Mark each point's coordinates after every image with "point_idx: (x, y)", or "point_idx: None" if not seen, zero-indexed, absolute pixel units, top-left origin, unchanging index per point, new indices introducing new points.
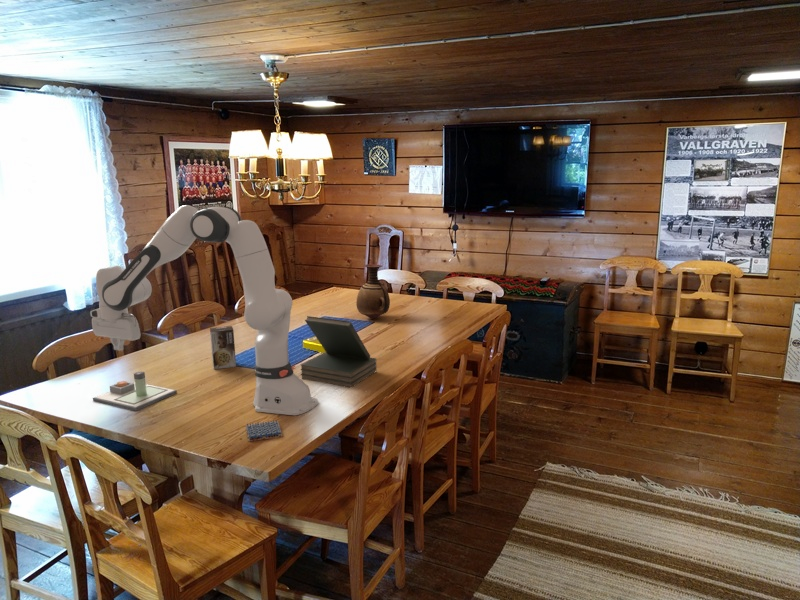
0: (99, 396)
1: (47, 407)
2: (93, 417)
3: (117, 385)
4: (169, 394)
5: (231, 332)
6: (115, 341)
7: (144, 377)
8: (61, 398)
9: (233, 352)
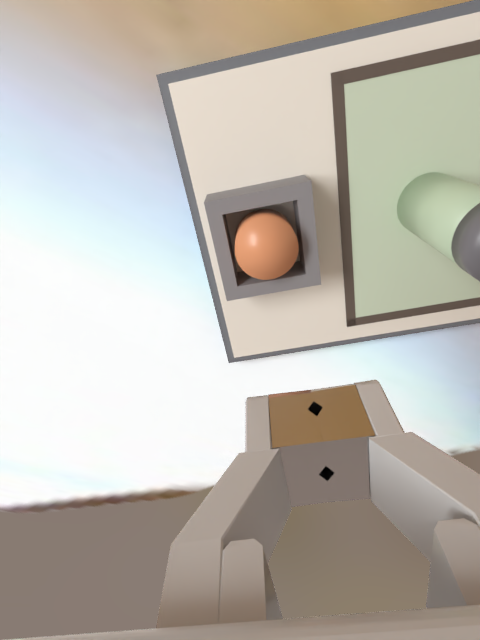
0: (240, 342)
1: (157, 465)
2: (400, 423)
3: (267, 276)
4: None
5: None
6: (258, 534)
7: None
8: (92, 410)
9: None
